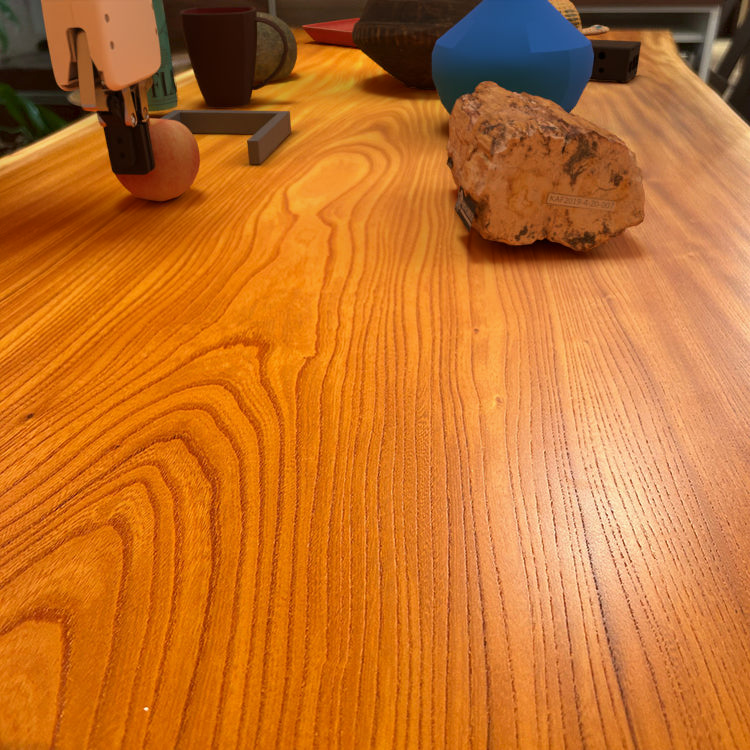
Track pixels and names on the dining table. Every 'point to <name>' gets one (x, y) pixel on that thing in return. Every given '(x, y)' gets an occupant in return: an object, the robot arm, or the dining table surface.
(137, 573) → the dining table surface
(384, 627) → the dining table surface
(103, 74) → the robot arm
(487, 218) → the petrified wood
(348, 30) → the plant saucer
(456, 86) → the vase
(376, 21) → the ceramic pot
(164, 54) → the beverage bottle
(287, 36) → the grey green rounded stone
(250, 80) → the mug
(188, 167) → the apple
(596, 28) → the decorative figurine
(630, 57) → the electronic device
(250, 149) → the bay
